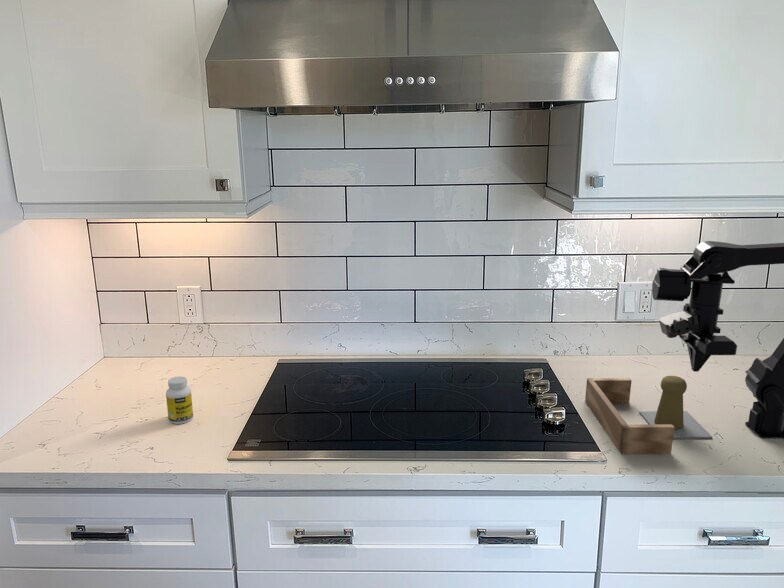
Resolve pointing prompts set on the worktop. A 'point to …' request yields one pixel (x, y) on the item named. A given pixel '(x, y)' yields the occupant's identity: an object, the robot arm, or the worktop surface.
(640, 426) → the walnut u-shaped bracket
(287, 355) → the worktop surface
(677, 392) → the olive game pawn
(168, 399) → the supplement bottle
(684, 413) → the grey mat
